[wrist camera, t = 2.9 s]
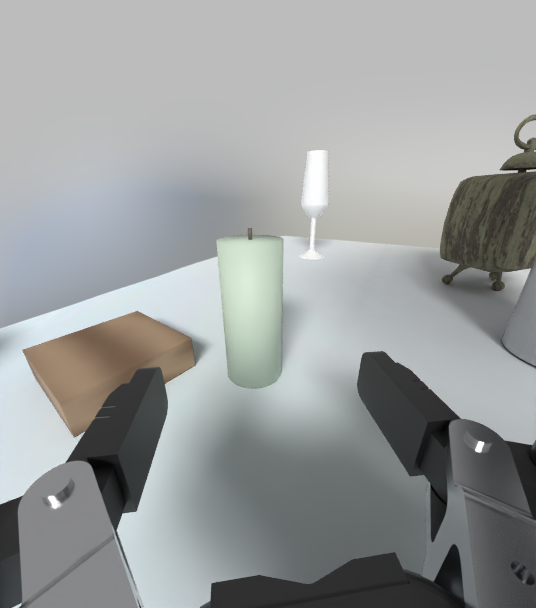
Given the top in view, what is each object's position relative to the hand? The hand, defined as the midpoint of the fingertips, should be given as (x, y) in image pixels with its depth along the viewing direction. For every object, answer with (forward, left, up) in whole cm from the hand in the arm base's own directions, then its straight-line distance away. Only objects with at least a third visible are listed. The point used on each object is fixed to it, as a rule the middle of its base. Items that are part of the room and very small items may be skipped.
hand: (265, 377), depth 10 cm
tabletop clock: (-50, +9, -9) cm, 52 cm away
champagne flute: (-53, -27, -8) cm, 60 cm away
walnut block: (0, -18, -8) cm, 20 cm away
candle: (-8, -8, -8) cm, 14 cm away
